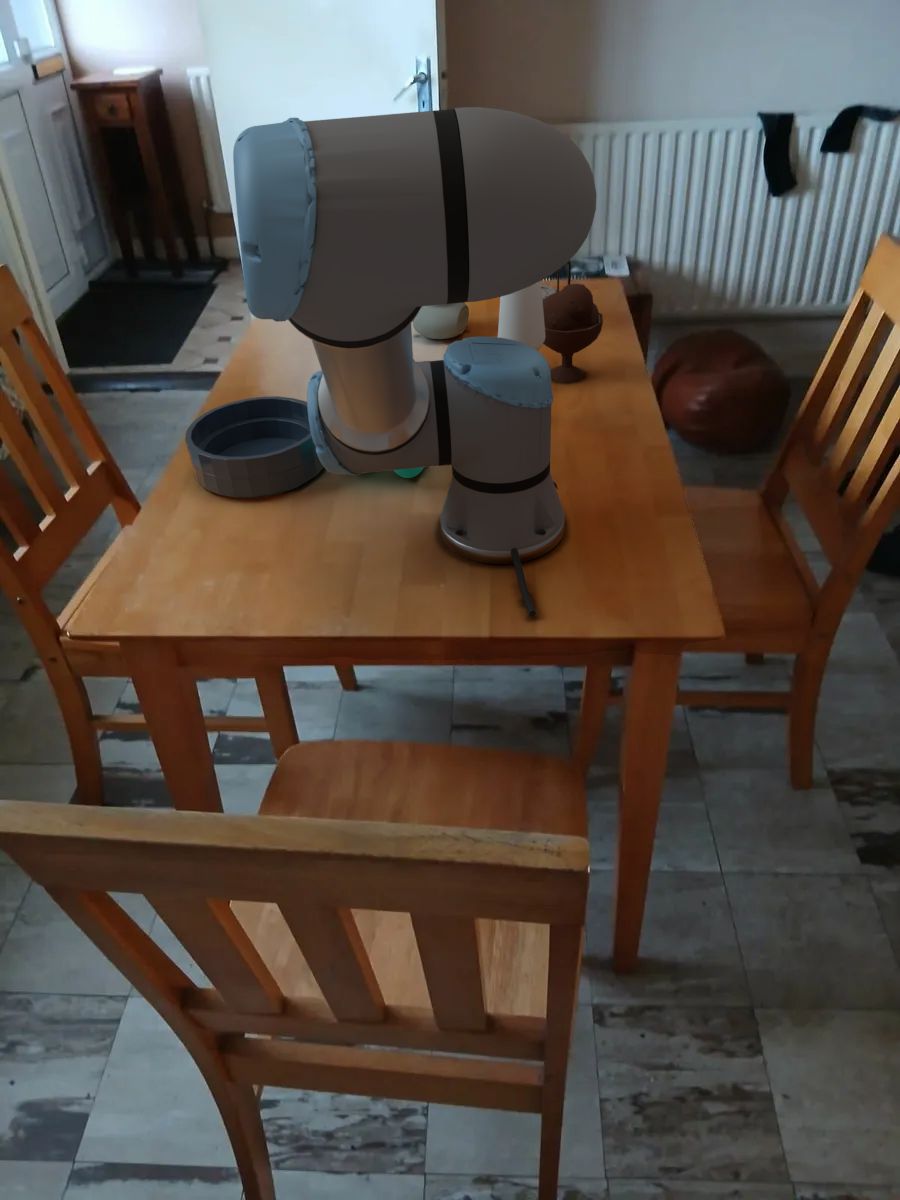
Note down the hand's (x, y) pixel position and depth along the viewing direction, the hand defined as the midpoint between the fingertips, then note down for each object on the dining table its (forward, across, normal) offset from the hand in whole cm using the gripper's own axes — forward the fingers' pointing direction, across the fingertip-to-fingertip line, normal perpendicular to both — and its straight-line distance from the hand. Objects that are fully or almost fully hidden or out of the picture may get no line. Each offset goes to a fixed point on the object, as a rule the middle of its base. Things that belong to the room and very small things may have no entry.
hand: (386, 433), depth 121 cm
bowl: (+6, -1, -18) cm, 19 cm away
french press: (+6, -51, +20) cm, 55 cm away
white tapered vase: (+6, -14, +18) cm, 23 cm away
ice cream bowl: (+6, -30, +25) cm, 39 cm away
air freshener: (+6, -49, +3) cm, 49 cm away
